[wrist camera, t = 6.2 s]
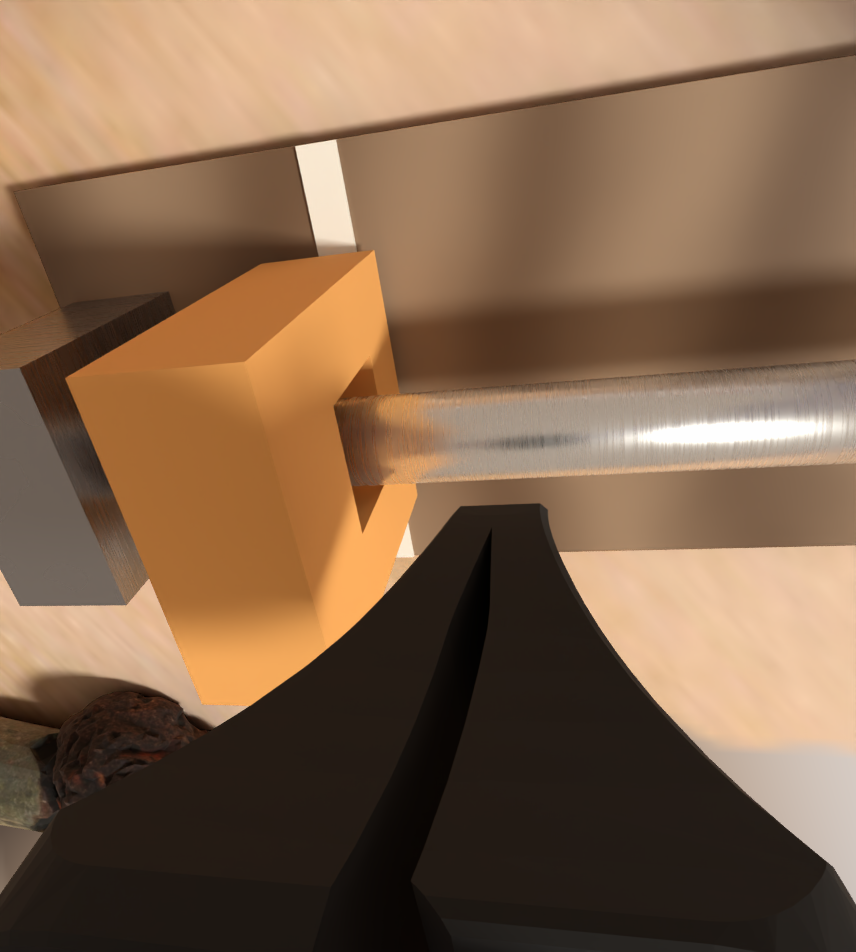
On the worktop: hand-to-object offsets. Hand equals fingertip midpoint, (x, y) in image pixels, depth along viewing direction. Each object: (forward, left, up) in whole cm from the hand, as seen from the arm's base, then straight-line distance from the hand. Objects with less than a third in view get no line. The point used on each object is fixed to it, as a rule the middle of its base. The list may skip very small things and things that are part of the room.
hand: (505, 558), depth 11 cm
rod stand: (0, 0, -10) cm, 10 cm away
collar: (+5, 0, -8) cm, 10 cm away
